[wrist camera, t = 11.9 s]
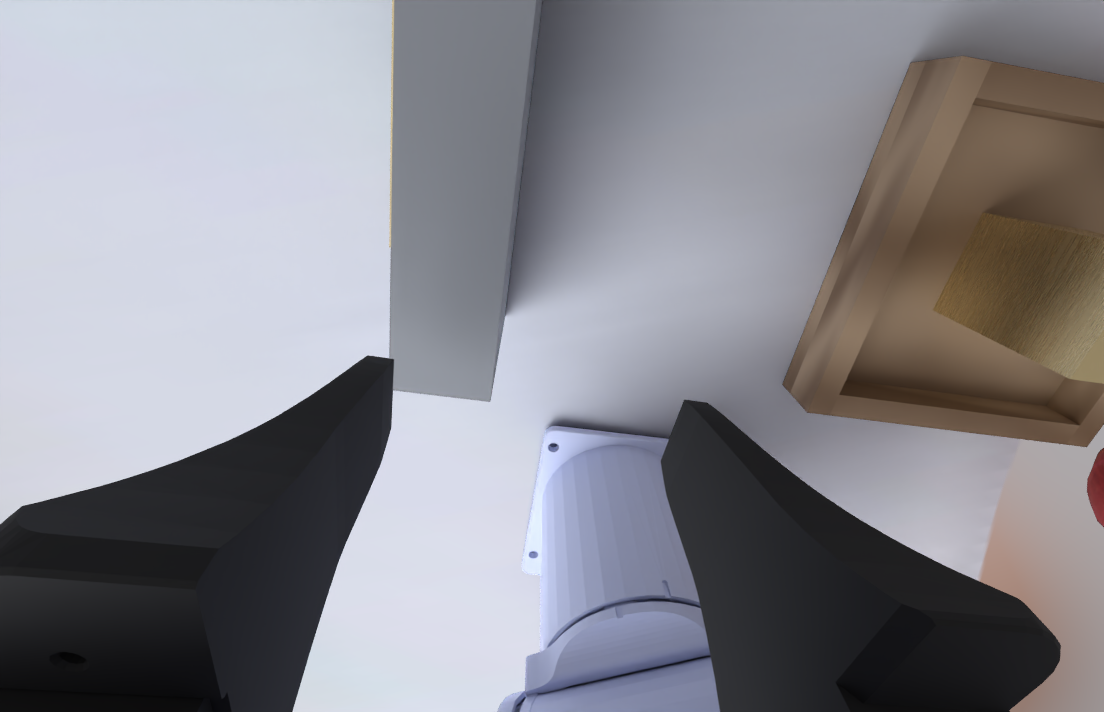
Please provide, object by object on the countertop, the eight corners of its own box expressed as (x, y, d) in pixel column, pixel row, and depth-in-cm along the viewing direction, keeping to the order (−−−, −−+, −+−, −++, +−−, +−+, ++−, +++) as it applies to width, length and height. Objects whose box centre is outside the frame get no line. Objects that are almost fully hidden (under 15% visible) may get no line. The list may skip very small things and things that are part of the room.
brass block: (1020, 323, 21) (1184, 395, 16) (932, 309, 21) (1069, 379, 15) (1077, 228, 19) (1283, 272, 14) (982, 212, 19) (1156, 251, 14)
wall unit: (504, 316, 21) (490, 401, 15) (426, 306, 21) (378, 388, 15) (554, -105, 15) (565, -254, 9) (447, -127, 15) (380, -297, 9)
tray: (1038, 417, 24) (1086, 447, 22) (782, 384, 23) (807, 412, 21) (1235, 124, 19) (1325, 125, 17) (910, 62, 18) (962, 55, 15)
